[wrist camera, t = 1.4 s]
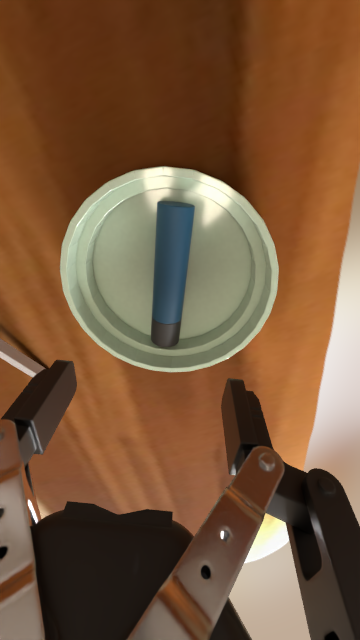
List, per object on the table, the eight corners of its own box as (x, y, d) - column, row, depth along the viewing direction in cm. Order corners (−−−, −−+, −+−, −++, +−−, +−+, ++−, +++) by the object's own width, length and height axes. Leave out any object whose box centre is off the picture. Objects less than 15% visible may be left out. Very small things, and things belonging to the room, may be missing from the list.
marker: (160, 199, 23) (154, 203, 20) (195, 203, 22) (194, 208, 20) (153, 329, 30) (148, 345, 27) (180, 332, 30) (177, 349, 27)
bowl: (68, 154, 21) (41, 151, 18) (291, 180, 22) (313, 183, 18) (88, 338, 31) (73, 362, 27) (241, 354, 32) (248, 380, 28)
